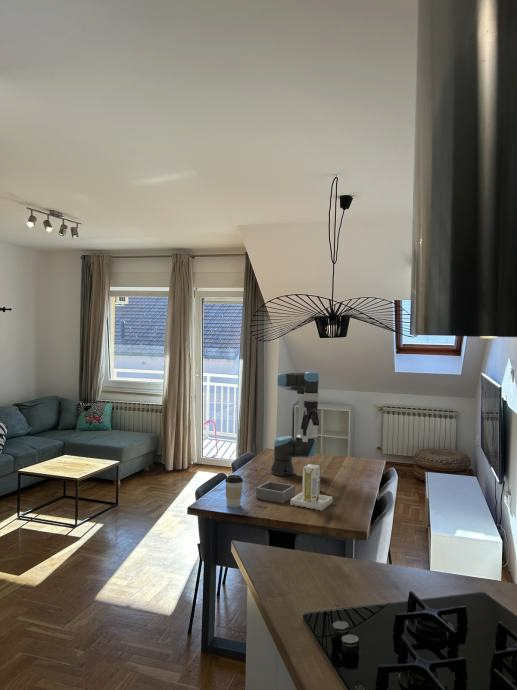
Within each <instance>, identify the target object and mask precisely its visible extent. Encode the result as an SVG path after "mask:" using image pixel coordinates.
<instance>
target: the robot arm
mask: <svg viewBox="0 0 517 690" xmlns="http://www.w3.org/2000/svg"><path fill="white" fill-rule="evenodd" d="M319 379H320V378H319V372H316V371H306V372H287V373H286V372H282V373H278V374H277V387H280V388H282V389H284V390H287V391H293V392H297V393H296V394H297V396H299V397H298V433H297V434H296V435H295V438H293V436H291V435H282V436H277V437H276V438H275V439H274V442H273V443H274V445H273V447H274V448H273V449H274V450H273V463H272V466H271V468H270V474H271V473H272V475H273V474H274V476H277V475H278V476H277V477H290V475H291V476H293V474H294V475H295V467H294V465H293V458H301V459H302V458H303V459H311V458H314V457H315V455H316V450H317V440H316V439H315V438H318V426H320V418H319V414H318V413H319V412H318V408H319V407H318V405H319V402H318V399H319Z"/></svg>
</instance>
